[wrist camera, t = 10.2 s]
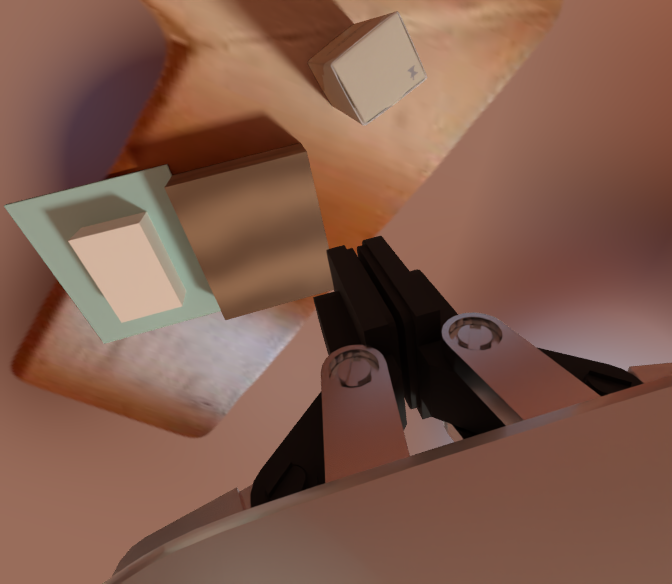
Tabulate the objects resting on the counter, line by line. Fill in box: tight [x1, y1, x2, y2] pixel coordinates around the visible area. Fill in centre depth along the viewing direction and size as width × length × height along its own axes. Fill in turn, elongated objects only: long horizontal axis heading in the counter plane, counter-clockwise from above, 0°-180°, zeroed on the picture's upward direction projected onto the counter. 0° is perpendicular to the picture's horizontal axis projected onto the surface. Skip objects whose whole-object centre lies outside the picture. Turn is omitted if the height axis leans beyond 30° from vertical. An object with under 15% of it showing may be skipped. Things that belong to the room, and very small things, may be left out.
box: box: [308, 11, 427, 125], centre depth 27 cm, size 5×4×11 cm
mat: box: [4, 164, 221, 344], centre depth 37 cm, size 16×14×1 cm
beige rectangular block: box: [68, 211, 186, 323], centre depth 35 cm, size 9×6×3 cm, turn 11°
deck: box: [164, 143, 334, 320], centre depth 36 cm, size 14×12×4 cm
